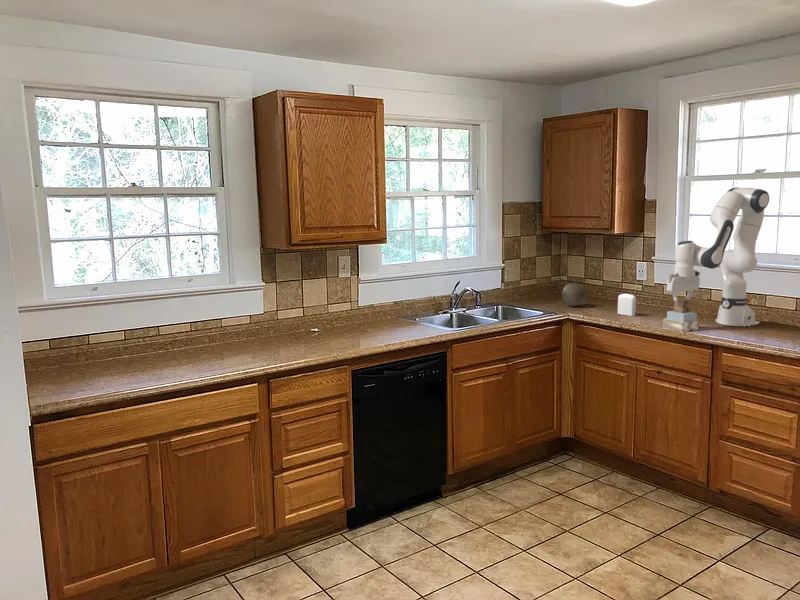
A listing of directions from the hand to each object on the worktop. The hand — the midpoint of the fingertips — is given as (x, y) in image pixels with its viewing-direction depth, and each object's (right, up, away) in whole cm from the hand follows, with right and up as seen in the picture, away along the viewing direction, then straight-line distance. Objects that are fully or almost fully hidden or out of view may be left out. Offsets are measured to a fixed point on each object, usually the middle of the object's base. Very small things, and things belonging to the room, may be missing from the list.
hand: (682, 299), depth 328 cm
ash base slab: (-1, -15, +1) cm, 15 cm away
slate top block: (0, -10, +1) cm, 10 cm away
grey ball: (-37, -5, +70) cm, 79 cm away
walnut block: (0, -6, +1) cm, 6 cm away
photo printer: (-14, -9, +41) cm, 44 cm away
